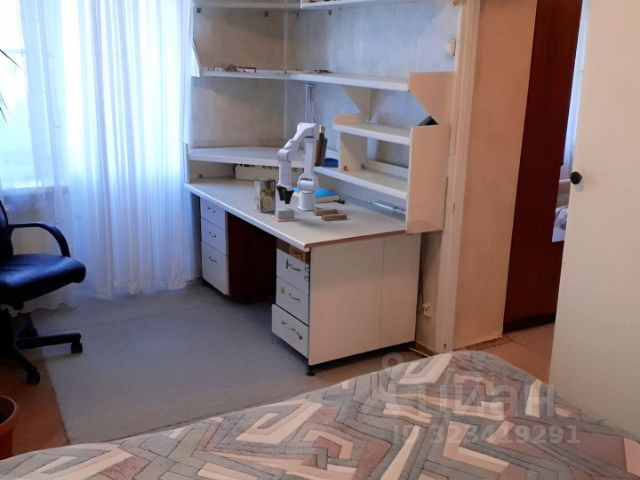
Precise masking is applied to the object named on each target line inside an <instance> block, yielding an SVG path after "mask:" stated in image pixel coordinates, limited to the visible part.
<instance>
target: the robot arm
mask: <svg viewBox="0 0 640 480" xmlns="http://www.w3.org/2000/svg"><path fill="white" fill-rule="evenodd" d="M320 131H321V129H320V126H319V124H318V123H311V122H310V123H309V122H299V123H298V124H297V127H296V133H295V135H294V136H293V138H291V139H289V140H288V141H287V143H286V144H285V145H284V146H283V148H281V149H279V150H278V151H277V155H276V160H277V164H278V166H279V167H278V168H279V169H278V170H279V171H278V172H279V173H278V179H279V180H278V183H276V190H277V194H278V197H279V201H280V202H283V201H284V204H285V205H290V204H291V200H292V197H293V196H294V195H293V193H294V190H292V188H293V186H292V162H293V161H294V157H295V155H296V152H297V150H298V149H299V148H300V143H301V142H302V140H304V141H305V143H306V145H305V155H304V156H305V157H304V166H303V173H301V175H299V177H298V181H297V187H296V188H298V189H299V190H300V193H299V197H298V205H297V206H296V208H298V209H299V210H301V211H304V212H305V211H306V212H307V211H314V210H318V208H316V207H315V204H316V203H315V192H316V191H317V190H318V188H320V186H319V185H320V184H319V177H318V176H317V175H316V174H315V162H316V161H315V160H316V154H317V153H316V151H317V150H316V149H317V141H319V139H320Z"/></svg>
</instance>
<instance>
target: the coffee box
mask: <svg viewBox="0 0 640 480" xmlns="http://www.w3.org/2000/svg"><path fill="white" fill-rule="evenodd" d="M253 180H254V181H253V182H254V183H253V185H254V186H253V187H254V191H253V192H254V194H253V198H254V211H255V212H259V213H265V212H275V209H277V208H276V207H277V203H276V202H277V201H276V199H277V198H276V196H277V195H276V190H277V188H276V186H277V183H276V179H274V178H271V177H264V178H255V179H253Z"/></svg>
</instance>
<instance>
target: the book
mask: <svg viewBox="0 0 640 480" xmlns="http://www.w3.org/2000/svg"><path fill="white" fill-rule="evenodd" d="M292 190H294V193H293V195H292V196H294V197H296V198H299V193H300V190H299V189H298V187H294V188H293V187H292ZM338 199H340V200H341V195H340V194H339V193H337V192H334V191H331V190H328V189H325V188H322V187H319V188H318V190H317V191H316V192H315V204H318V203H319V204H320V203H321V202H322V203H328V202H327V201H330V202H334V201H333V200H338Z"/></svg>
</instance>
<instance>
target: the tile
mask: <svg viewBox="0 0 640 480" xmlns="http://www.w3.org/2000/svg"><path fill="white" fill-rule="evenodd" d="M271 218H272V219H274V220H275V221H276V222H280V223H281V222H293V221H296V222H297V221H299V219H298V218H297V217H296V216H294V218H288V219H277V218H276V217H275V214H274V215H271Z"/></svg>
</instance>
